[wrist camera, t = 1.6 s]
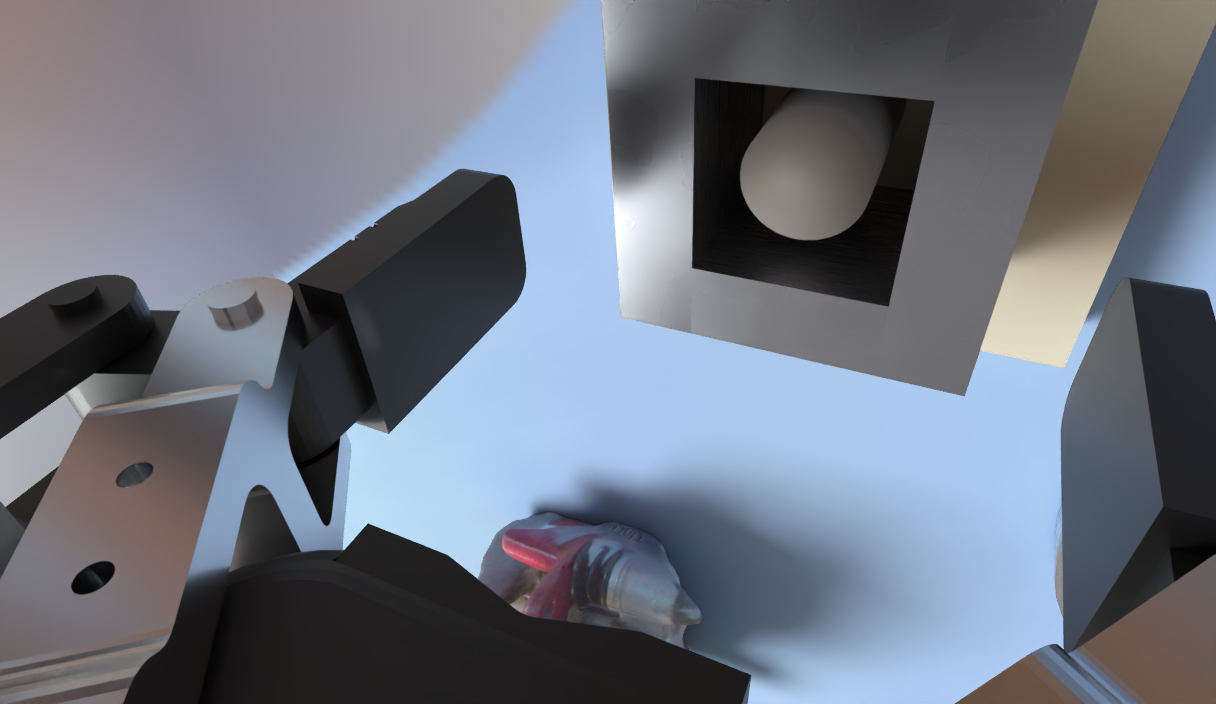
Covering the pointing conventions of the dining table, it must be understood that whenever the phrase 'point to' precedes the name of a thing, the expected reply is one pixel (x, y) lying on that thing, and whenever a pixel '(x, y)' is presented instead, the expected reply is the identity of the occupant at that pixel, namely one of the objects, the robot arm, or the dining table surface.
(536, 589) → the brake caliper
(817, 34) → the square socket block
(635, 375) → the dining table surface
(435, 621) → the robot arm
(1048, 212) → the stand
